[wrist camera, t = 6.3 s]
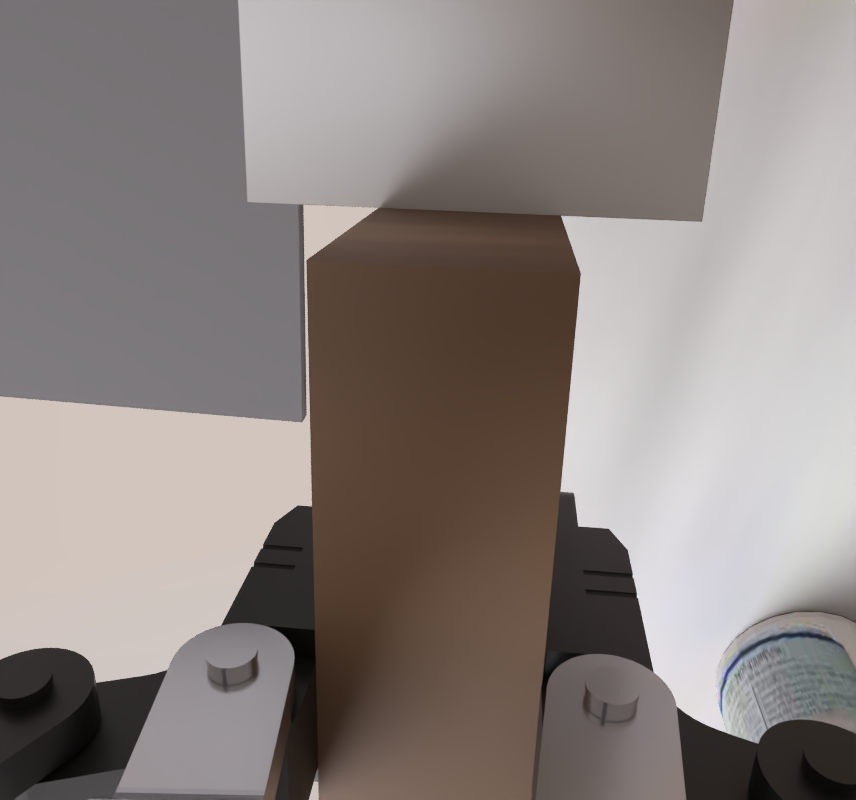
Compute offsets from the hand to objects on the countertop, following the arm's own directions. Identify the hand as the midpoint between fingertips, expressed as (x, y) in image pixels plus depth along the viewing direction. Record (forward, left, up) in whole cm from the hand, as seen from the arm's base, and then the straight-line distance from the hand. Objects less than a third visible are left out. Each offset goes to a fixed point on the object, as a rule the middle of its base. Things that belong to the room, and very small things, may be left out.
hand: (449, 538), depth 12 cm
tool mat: (-6, -11, -15) cm, 20 cm away
